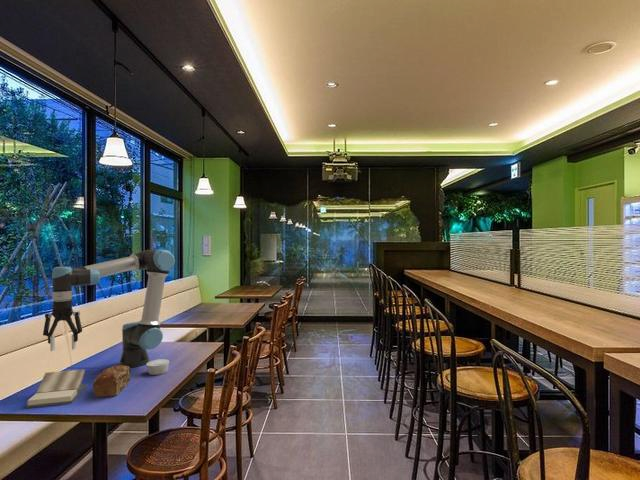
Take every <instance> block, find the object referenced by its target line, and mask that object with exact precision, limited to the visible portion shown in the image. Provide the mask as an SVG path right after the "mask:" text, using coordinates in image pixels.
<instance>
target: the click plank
mask: <svg viewBox="0 0 640 480" xmlns="http://www.w3.org/2000/svg"><path fill="white" fill-rule="evenodd" d="M85 373H86V372H85V369H74V370H73V369H71V370H60V371H49V372H48V371H47V372H45V373H44V375H43V377H42V379H41V382H40V384H39V386H38V388H37V390H36V393H45V392H55V391H65V390H75V389H77V392H78V391H79V388H80V385H82V381H83V380H84V377H85V375H86V374H85ZM36 393H35V394H36Z"/></svg>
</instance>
